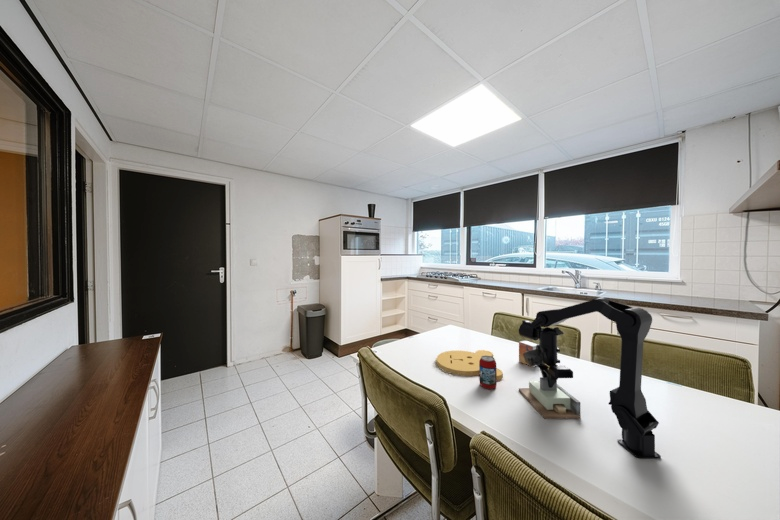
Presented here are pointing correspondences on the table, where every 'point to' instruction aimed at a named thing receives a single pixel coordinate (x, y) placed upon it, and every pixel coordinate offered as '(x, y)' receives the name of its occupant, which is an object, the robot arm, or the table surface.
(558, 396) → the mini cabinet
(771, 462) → the table surface
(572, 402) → the cleat board
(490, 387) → the beverage can
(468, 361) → the decorative plaque
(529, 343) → the small box
